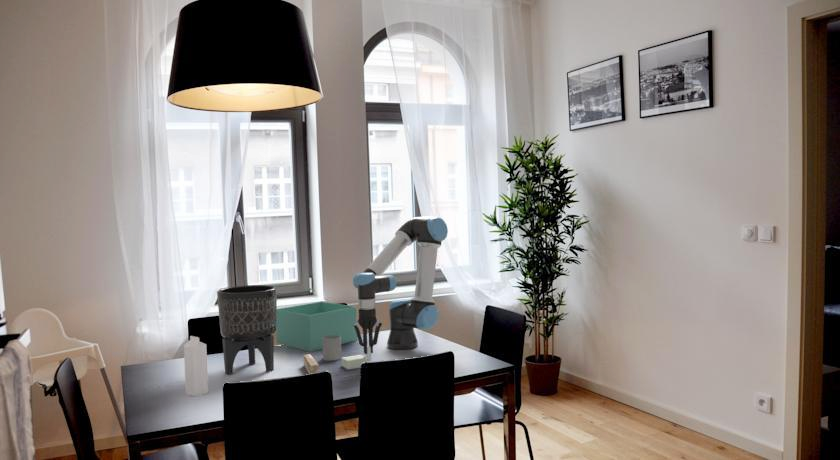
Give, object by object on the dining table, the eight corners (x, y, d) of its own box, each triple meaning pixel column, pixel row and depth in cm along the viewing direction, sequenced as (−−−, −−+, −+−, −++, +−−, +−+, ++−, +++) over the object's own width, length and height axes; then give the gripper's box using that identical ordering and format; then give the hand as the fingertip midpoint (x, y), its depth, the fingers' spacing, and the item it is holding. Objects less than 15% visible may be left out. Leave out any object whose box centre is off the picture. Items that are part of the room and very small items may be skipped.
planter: (290, 363, 277) (287, 285, 275) (258, 379, 253) (255, 293, 251) (243, 360, 285) (240, 284, 283) (208, 375, 261) (204, 292, 260)
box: (322, 333, 341) (321, 301, 340) (357, 340, 320) (356, 306, 320) (276, 343, 320) (275, 309, 319) (310, 351, 299) (309, 315, 298)
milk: (199, 390, 240) (197, 334, 239) (208, 392, 237) (206, 335, 236) (185, 394, 235) (183, 337, 235) (194, 396, 232) (192, 338, 231)
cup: (337, 360, 279) (337, 339, 279) (320, 360, 281) (319, 338, 281) (343, 356, 288) (343, 335, 287) (327, 355, 289) (326, 334, 289)
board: (310, 365, 273) (310, 354, 273) (318, 376, 254) (318, 364, 254) (303, 366, 272) (303, 354, 272) (311, 377, 253) (311, 365, 253)
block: (360, 363, 275) (360, 354, 275) (366, 367, 268) (366, 357, 268) (341, 366, 271) (341, 357, 270) (347, 370, 264) (347, 360, 264)
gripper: (378, 305, 276) (380, 357, 277) (350, 308, 272) (352, 360, 273) (383, 308, 269) (385, 361, 270) (354, 310, 265) (356, 364, 266)
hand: (368, 360), depth 272 cm, fingers closed
